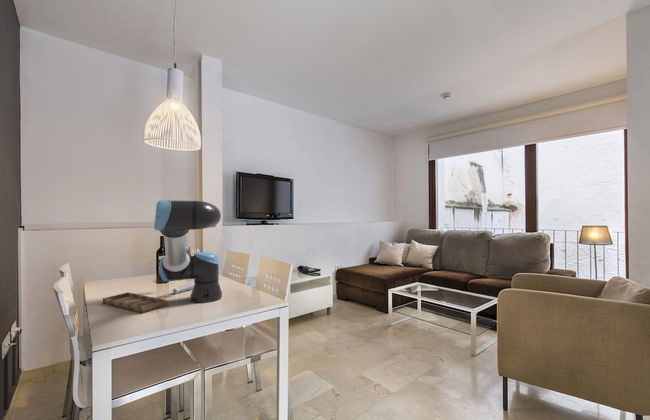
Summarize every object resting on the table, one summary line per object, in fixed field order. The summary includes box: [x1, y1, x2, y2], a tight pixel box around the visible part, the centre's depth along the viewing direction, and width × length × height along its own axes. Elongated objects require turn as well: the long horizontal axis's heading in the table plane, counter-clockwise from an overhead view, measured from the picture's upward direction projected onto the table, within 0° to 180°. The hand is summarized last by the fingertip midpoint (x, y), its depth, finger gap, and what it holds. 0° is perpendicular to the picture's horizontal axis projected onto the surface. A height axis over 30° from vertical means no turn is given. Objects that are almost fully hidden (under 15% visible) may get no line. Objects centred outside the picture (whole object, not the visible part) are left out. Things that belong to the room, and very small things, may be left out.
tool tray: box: [102, 291, 168, 314], centre depth 142 cm, size 30×12×2 cm, turn 64°
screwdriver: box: [156, 281, 194, 299], centre depth 162 cm, size 5×25×4 cm, turn 155°
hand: (178, 276), depth 162 cm, fingers open, 13 cm apart
